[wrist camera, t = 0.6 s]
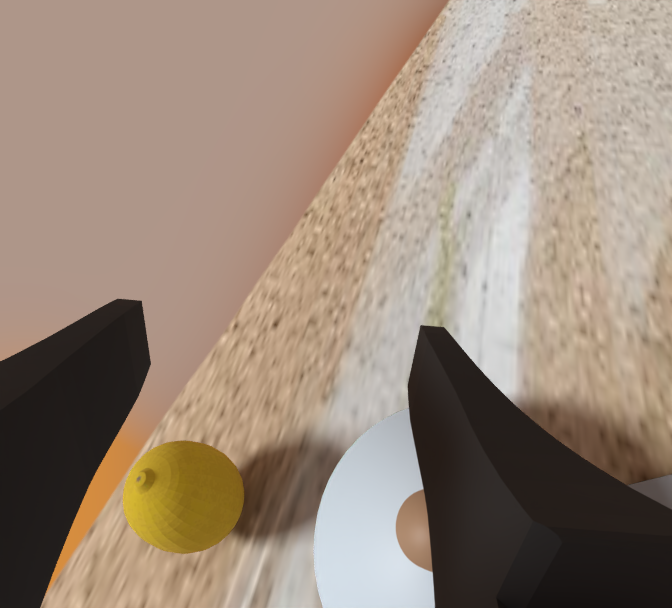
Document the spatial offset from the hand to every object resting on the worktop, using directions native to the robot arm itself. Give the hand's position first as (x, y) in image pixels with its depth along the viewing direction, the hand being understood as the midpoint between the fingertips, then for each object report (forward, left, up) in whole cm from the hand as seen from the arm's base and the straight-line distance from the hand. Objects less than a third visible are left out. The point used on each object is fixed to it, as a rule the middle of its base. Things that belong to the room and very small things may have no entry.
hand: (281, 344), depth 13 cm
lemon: (+2, +12, -17) cm, 21 cm away
